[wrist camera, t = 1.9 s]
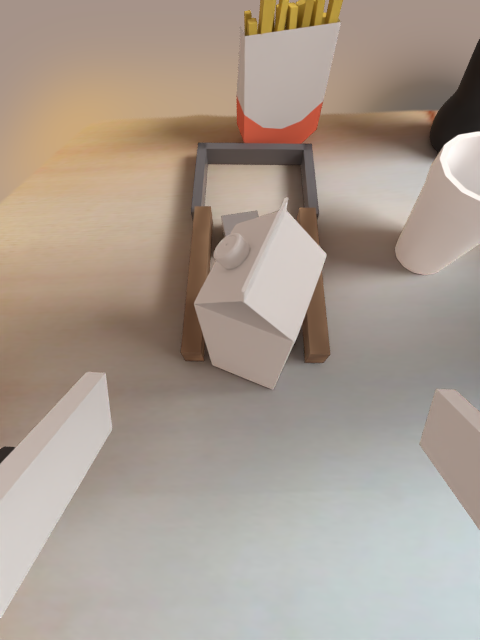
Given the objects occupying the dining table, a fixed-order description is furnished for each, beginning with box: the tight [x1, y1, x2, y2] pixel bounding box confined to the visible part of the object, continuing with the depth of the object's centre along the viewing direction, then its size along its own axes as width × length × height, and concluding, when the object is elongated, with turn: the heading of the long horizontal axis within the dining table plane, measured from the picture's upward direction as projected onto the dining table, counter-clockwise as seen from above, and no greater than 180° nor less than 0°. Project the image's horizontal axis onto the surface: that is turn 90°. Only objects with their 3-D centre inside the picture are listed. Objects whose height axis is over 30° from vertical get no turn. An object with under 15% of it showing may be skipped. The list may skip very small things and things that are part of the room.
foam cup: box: [395, 132, 480, 275], centre depth 35 cm, size 10×9×13 cm
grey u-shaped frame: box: [191, 143, 319, 220], centre depth 44 cm, size 16×13×2 cm
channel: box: [181, 206, 330, 363], centre depth 37 cm, size 15×19×3 cm
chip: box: [221, 211, 259, 238], centre depth 40 cm, size 4×4×3 cm
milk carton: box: [194, 197, 327, 390], centre depth 27 cm, size 7×7×19 cm
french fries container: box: [237, 0, 343, 144], centre depth 41 cm, size 5×11×18 cm, turn 105°
